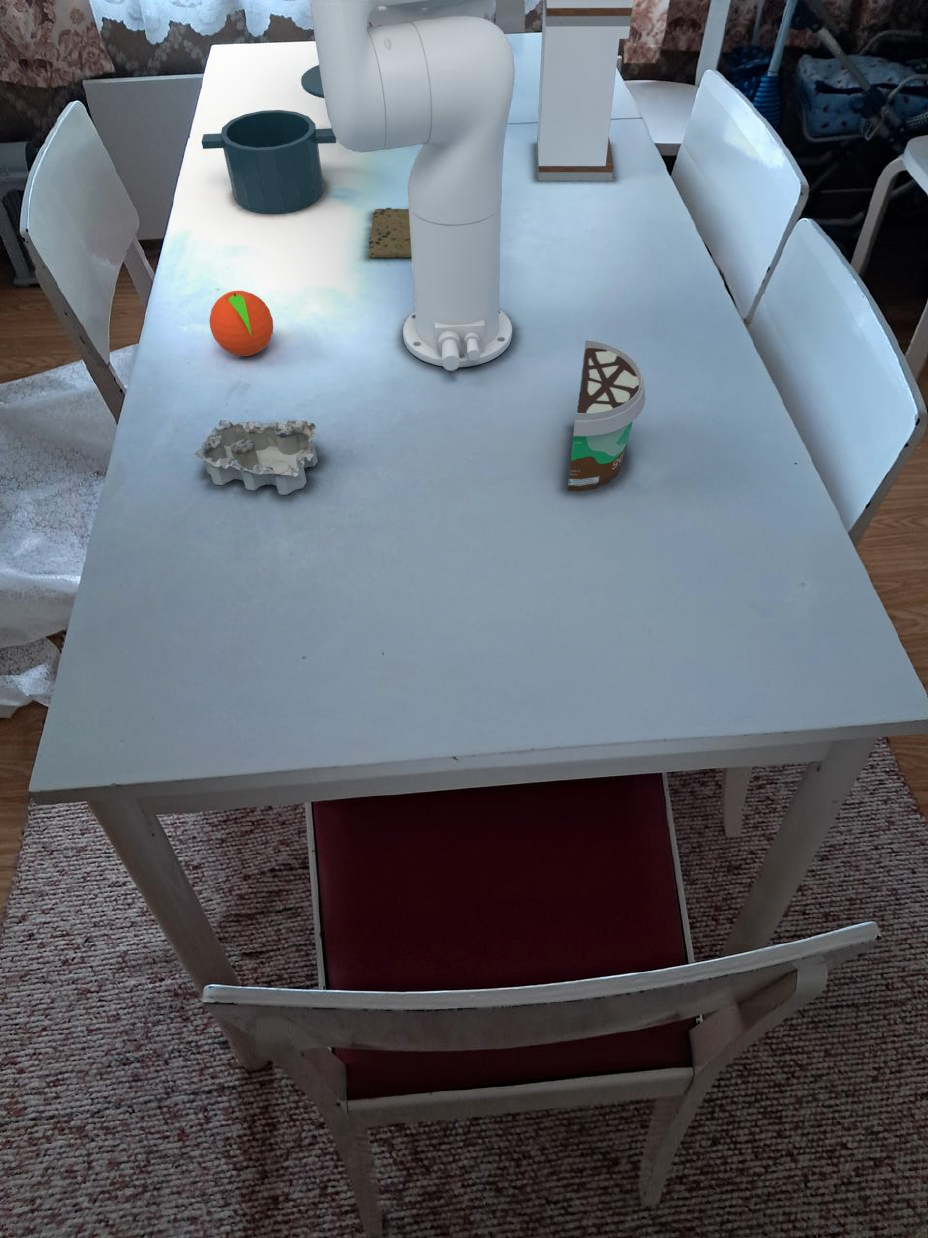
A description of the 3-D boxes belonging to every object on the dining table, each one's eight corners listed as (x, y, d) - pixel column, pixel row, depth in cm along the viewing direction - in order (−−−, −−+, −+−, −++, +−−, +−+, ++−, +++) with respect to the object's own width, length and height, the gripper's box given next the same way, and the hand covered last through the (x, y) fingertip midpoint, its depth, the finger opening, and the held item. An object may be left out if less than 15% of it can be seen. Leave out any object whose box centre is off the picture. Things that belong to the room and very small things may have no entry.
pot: (341, 210, 120) (333, 146, 114) (211, 216, 120) (195, 152, 113) (343, 169, 128) (335, 106, 121) (220, 175, 127) (206, 112, 121)
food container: (630, 507, 83) (646, 423, 75) (566, 500, 83) (575, 417, 76) (635, 425, 90) (650, 341, 83) (576, 420, 91) (585, 336, 83)
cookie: (367, 257, 112) (366, 250, 111) (374, 212, 119) (373, 205, 119) (460, 257, 112) (460, 249, 111) (461, 211, 119) (461, 204, 119)
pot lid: (398, 102, 121) (394, 48, 115) (300, 106, 120) (292, 52, 115) (396, 65, 129) (392, 13, 124) (304, 68, 129) (297, 17, 123)
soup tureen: (461, 128, 136) (458, -32, 120) (311, 100, 144) (290, -54, 127) (530, 65, 152) (536, -84, 135) (391, 43, 159) (382, -101, 143)
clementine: (289, 363, 98) (278, 306, 92) (230, 380, 96) (215, 323, 91) (267, 327, 103) (255, 270, 97) (210, 343, 101) (194, 286, 95)
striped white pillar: (612, 180, 125) (649, -138, 97) (537, 180, 125) (554, -137, 98) (606, 145, 132) (639, -160, 104) (536, 145, 132) (551, -159, 105)
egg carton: (326, 453, 88) (320, 421, 85) (297, 503, 84) (290, 471, 81) (230, 435, 90) (221, 403, 87) (197, 483, 86) (186, 450, 83)
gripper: (361, -76, 104) (375, 93, 118) (361, -111, 114) (374, 48, 128) (298, -74, 104) (320, 95, 118) (304, -109, 114) (323, 51, 128)
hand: (348, 69), depth 123 cm, fingers closed on pot lid, 2 cm apart
